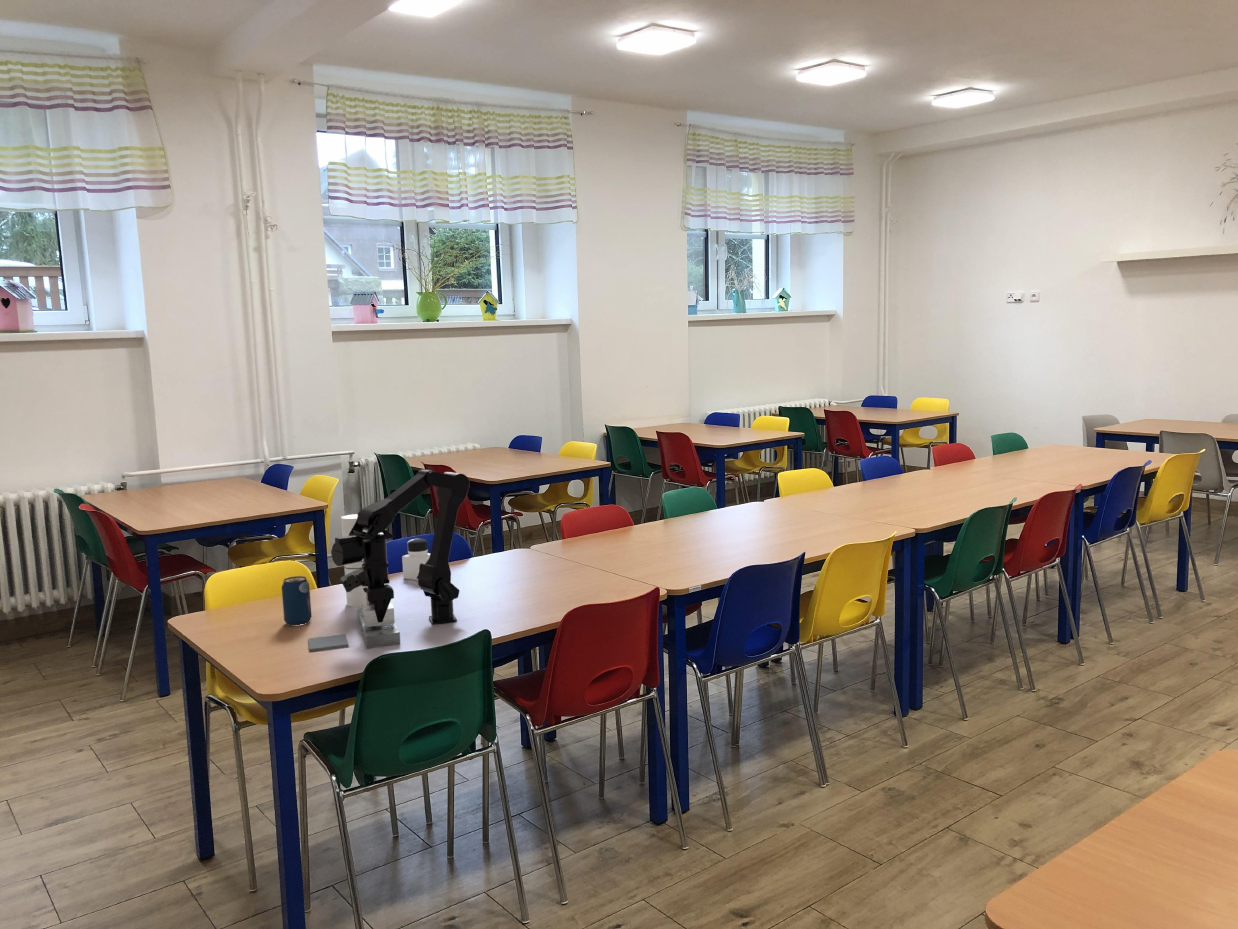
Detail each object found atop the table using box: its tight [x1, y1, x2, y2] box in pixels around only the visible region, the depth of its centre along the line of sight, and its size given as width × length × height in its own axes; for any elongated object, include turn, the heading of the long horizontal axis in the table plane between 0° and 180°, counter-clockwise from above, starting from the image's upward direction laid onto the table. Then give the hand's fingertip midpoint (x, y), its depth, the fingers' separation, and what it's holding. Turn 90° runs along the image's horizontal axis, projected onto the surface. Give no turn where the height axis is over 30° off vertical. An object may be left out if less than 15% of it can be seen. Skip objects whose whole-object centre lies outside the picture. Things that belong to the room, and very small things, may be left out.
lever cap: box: [362, 602, 396, 627], centre depth 239 cm, size 5×7×4 cm
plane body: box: [356, 595, 401, 649], centre depth 244 cm, size 26×8×7 cm, turn 20°
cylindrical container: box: [340, 513, 367, 608], centre depth 270 cm, size 7×7×25 cm
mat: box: [307, 633, 350, 652], centre depth 235 cm, size 9×9×1 cm
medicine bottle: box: [401, 538, 431, 581], centre depth 299 cm, size 7×7×12 cm
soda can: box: [281, 575, 313, 626], centre depth 253 cm, size 7×7×12 cm
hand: (379, 619), depth 239 cm, fingers closed on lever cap, 5 cm apart
